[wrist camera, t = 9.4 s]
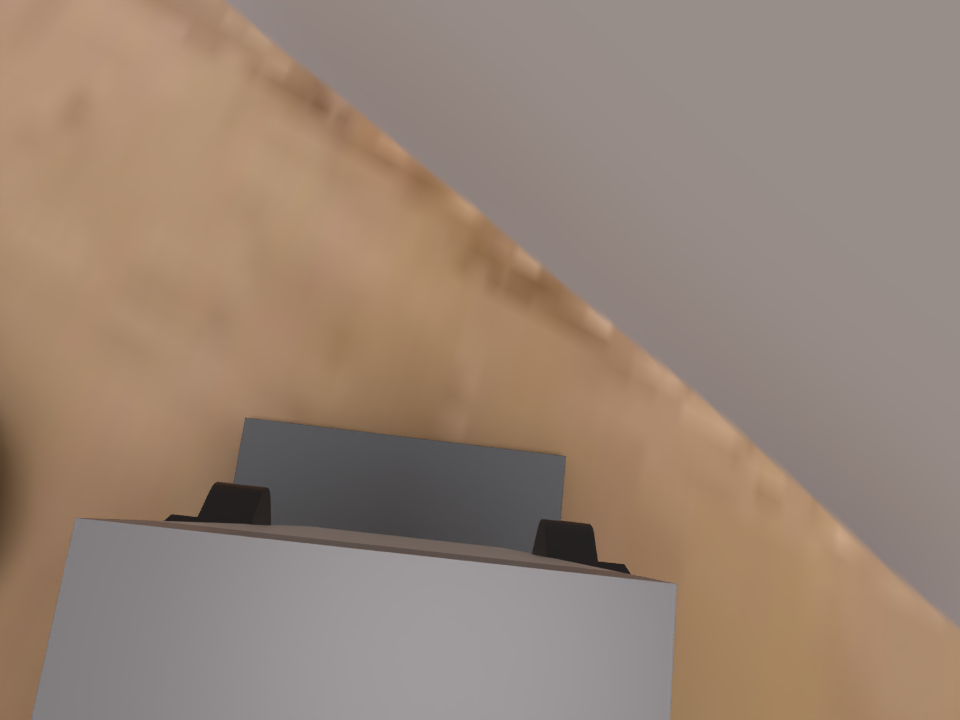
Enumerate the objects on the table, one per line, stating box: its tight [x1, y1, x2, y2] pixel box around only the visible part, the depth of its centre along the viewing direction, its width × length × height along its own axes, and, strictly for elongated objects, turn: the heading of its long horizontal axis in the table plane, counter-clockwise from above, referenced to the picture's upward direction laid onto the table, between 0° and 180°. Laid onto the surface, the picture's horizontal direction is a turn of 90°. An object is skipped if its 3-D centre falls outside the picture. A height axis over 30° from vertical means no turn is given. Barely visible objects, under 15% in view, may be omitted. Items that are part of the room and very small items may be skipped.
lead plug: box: [31, 518, 677, 720], centre depth 10 cm, size 4×4×11 cm
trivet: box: [233, 418, 566, 554], centre depth 23 cm, size 10×10×1 cm
